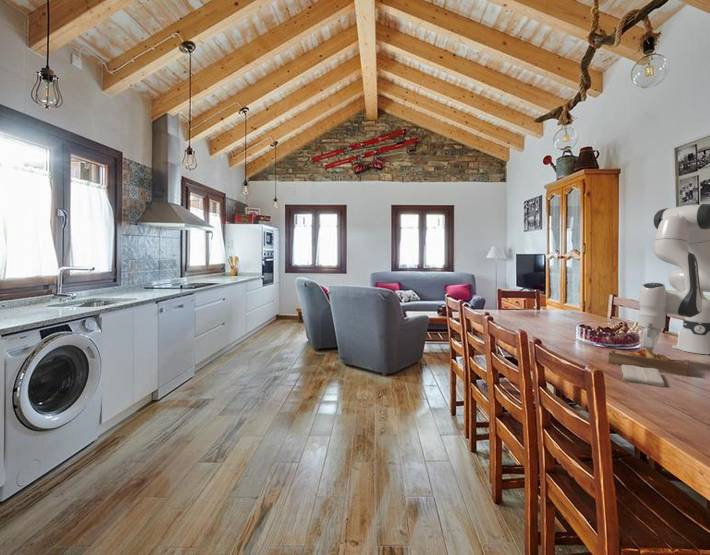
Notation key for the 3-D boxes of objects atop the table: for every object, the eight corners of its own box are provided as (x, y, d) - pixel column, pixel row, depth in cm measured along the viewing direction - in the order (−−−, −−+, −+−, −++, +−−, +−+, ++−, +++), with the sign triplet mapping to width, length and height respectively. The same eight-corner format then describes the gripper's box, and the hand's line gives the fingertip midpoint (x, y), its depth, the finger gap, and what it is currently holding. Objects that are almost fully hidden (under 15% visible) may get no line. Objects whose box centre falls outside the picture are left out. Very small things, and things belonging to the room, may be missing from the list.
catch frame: (612, 359, 163) (612, 349, 163) (688, 371, 146) (688, 360, 146) (608, 363, 157) (608, 352, 157) (687, 376, 141) (687, 364, 140)
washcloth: (657, 375, 144) (658, 367, 144) (666, 389, 129) (666, 380, 128) (619, 369, 150) (619, 362, 150) (623, 382, 135) (623, 374, 135)
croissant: (681, 377, 151) (680, 357, 153) (687, 371, 143) (686, 351, 145) (616, 367, 162) (616, 349, 164) (618, 362, 154) (619, 342, 156)
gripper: (658, 326, 148) (656, 362, 148) (663, 320, 163) (661, 352, 163) (638, 324, 152) (636, 358, 153) (644, 318, 167) (643, 349, 168)
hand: (649, 355), depth 158 cm, fingers closed
